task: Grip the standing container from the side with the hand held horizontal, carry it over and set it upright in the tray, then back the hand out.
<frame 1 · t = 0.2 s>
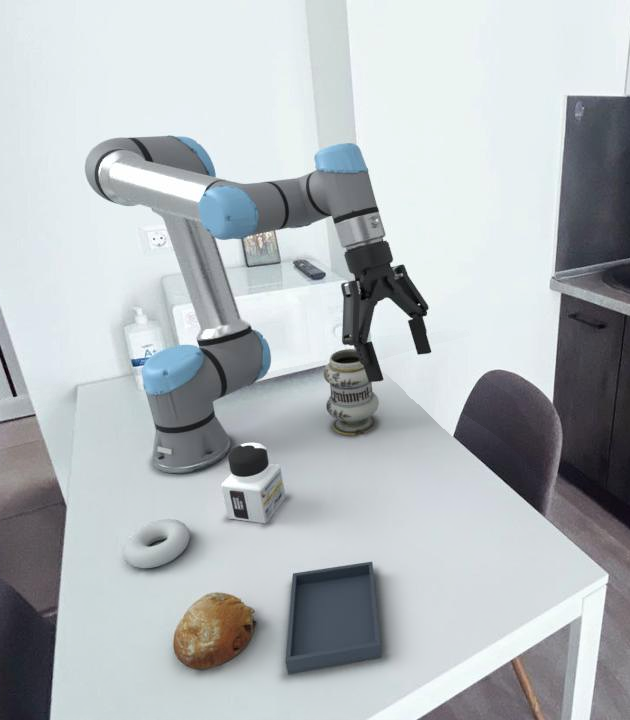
hand: (401, 366, 93), 27 cm above the table, tool tilted 20°, fingers open, 13 cm apart
tray: (334, 618, 79), on the table
container: (257, 509, 102), on the table
donut: (159, 551, 92), on the table
apothecary jar: (354, 425, 129), on the table
bread roll: (219, 639, 76), on the table
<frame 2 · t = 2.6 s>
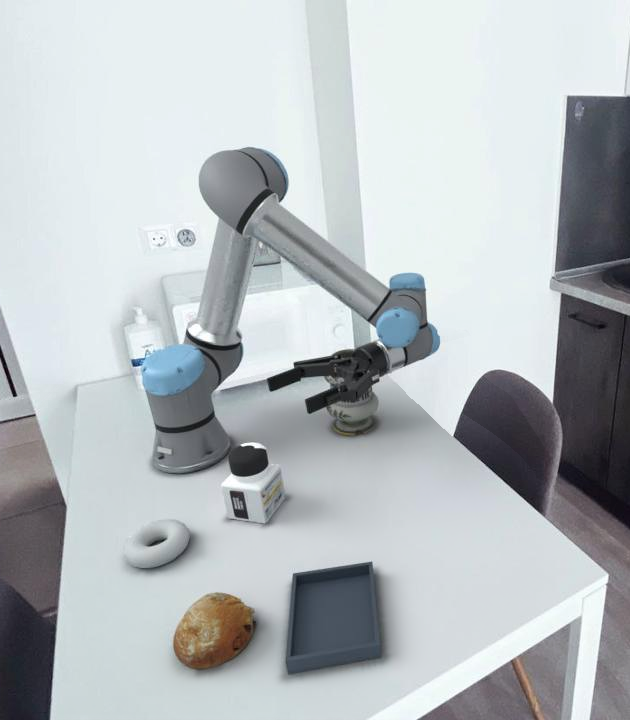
hand: (286, 395, 100), 20 cm above the table, tool horizontal, fingers open, 13 cm apart
nothing on the table moved.
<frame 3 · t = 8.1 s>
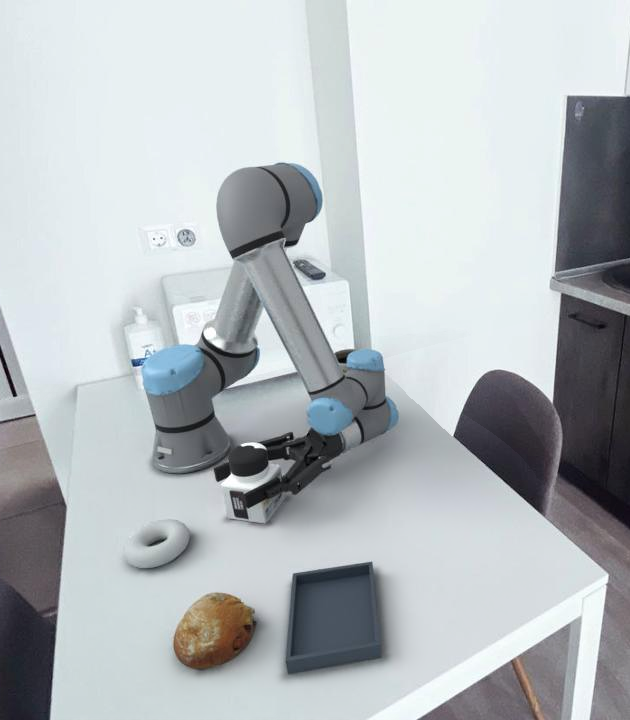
hand: (230, 487, 96), 7 cm above the table, tool horizontal, fingers closed on container, 10 cm apart
container: (257, 509, 102), on the table, touching gripper
everything else where it was.
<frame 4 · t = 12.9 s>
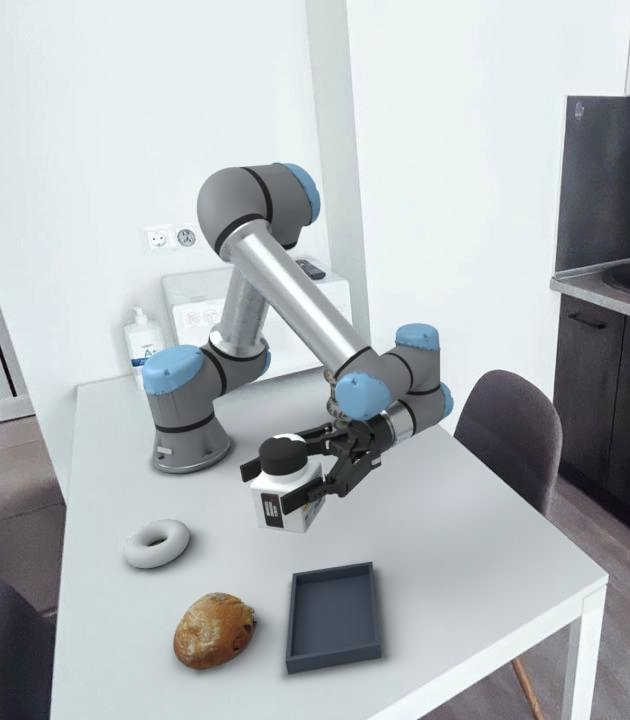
hand: (261, 489, 77), 18 cm above the table, tool horizontal, fingers closed on container, 10 cm apart
container: (293, 515, 83), point 11 cm above the table, touching gripper
everything else where it was.
when the fingers open (7 cm above the table, at t = 17.9 s): container stays where it is, resting on tray.
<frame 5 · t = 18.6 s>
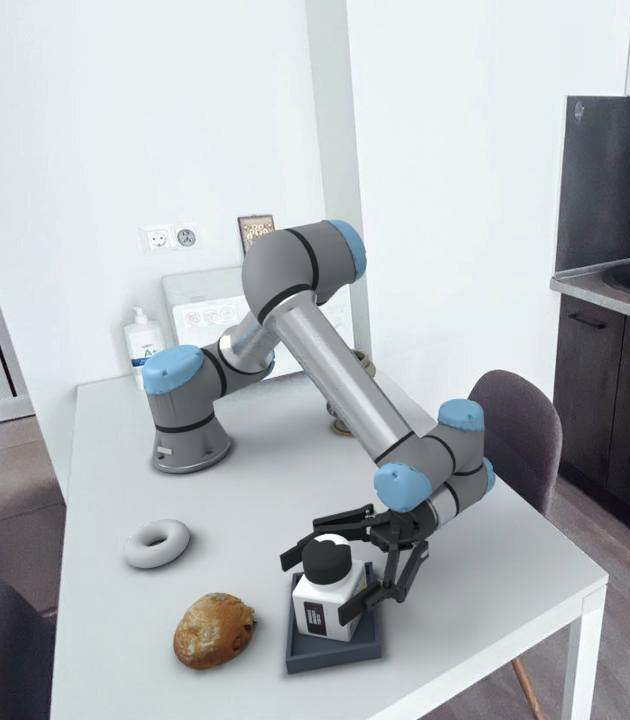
hand: (309, 589, 73), 8 cm above the table, tool horizontal, fingers open, 13 cm apart
container: (334, 617, 79), resting on tray
everything else where it was.
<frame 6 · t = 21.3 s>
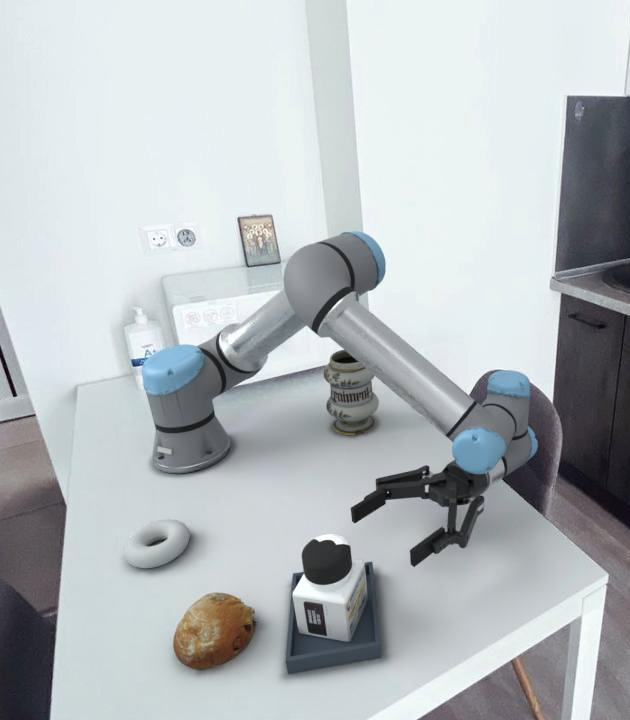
hand: (380, 536, 82), 9 cm above the table, tool horizontal, fingers open, 13 cm apart
nothing on the table moved.
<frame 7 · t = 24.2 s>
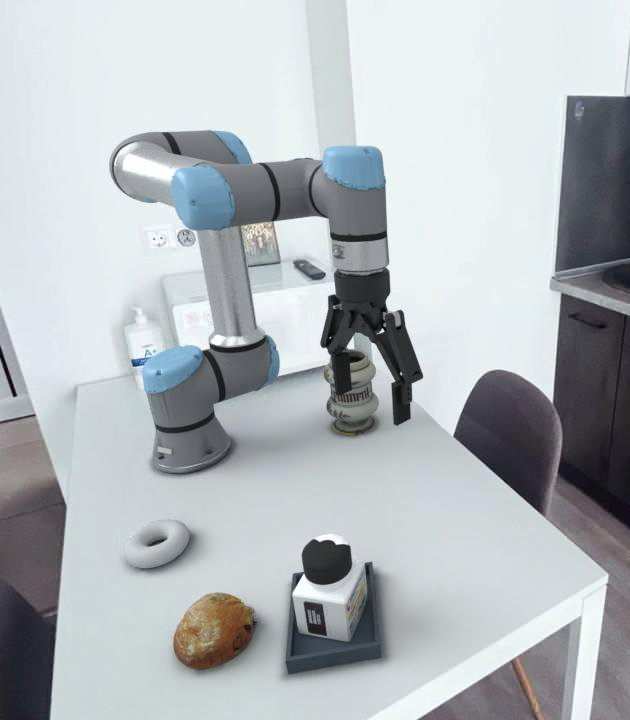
hand: (371, 406, 82), 27 cm above the table, tool pointing down, fingers open, 13 cm apart
nothing on the table moved.
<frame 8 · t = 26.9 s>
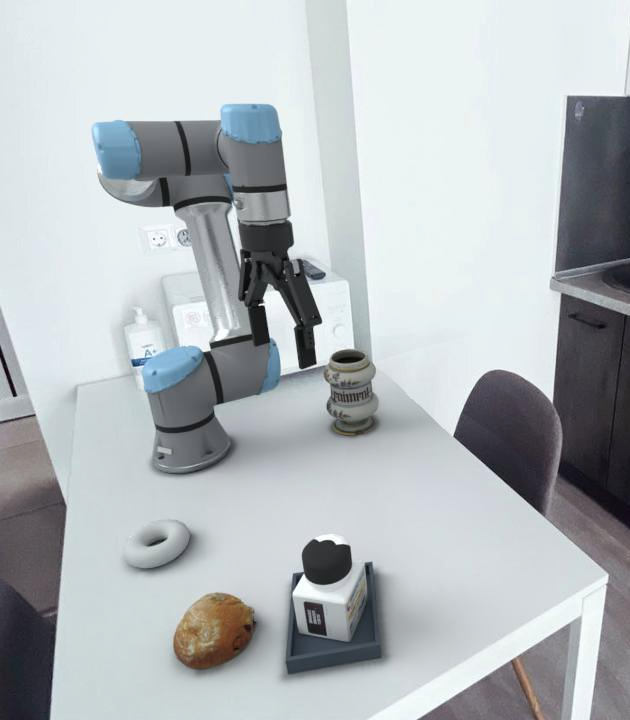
hand: (284, 354, 88), 32 cm above the table, tool pointing down, fingers open, 13 cm apart
nothing on the table moved.
at the end: container 0.0 cm off-centre in the tray, point 0.3 cm above the tray's base; container tilted 0°; the gripper is holding nothing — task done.
